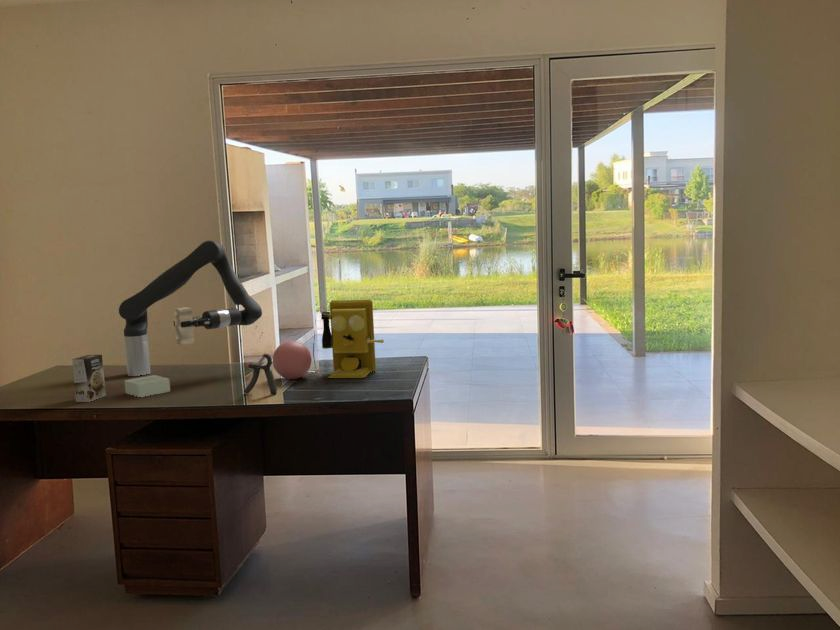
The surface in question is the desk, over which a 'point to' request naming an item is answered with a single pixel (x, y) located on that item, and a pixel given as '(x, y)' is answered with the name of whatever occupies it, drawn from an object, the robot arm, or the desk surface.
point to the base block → (147, 386)
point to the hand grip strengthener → (267, 372)
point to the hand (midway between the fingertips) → (177, 324)
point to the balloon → (292, 360)
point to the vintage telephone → (350, 338)
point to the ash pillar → (185, 333)
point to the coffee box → (88, 378)
